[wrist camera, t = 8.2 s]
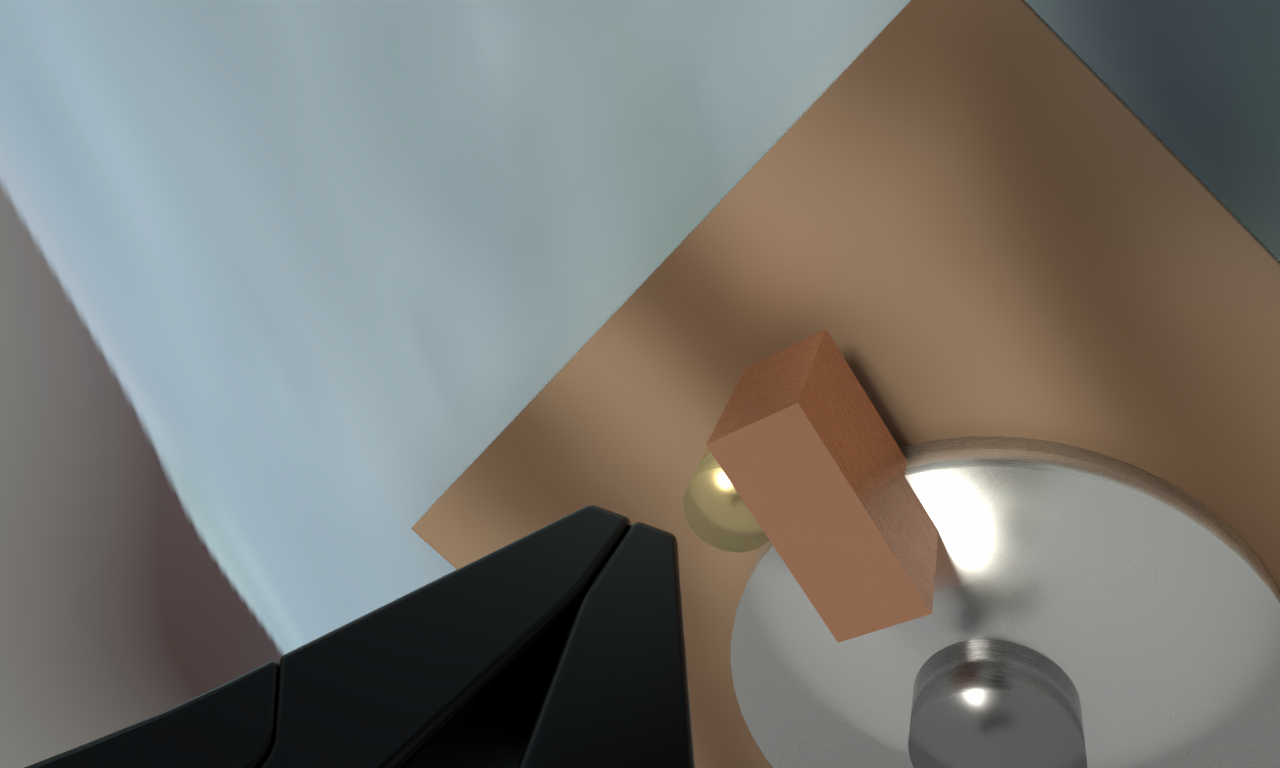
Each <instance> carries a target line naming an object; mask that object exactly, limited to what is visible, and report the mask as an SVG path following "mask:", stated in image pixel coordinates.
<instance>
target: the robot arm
mask: <svg viewBox="0 0 1280 768" xmlns="http://www.w3.org/2000/svg"><path fill="white" fill-rule="evenodd" d="M25 768H695V761H694V748H693V735H692V722H691V709H690V696H689V683H688V670H687V658H686V645H685V632H684V619H683V606H682V593H681V580H680V567H679V554H678V542H677V539H676V537H675V536H674V535H673V534H672V533H670V532H667V531H664V530H661V529H659V528H656V527H653V526H650V525H648V524H645V523H642V522H637V523H634V524H632V525H631V522H630V520H629V518H627V517H626V516H623V515H620V514H618V513H615V512H612V511H609V510H607V509H604V508H601V507H599V506H594V505H589V506H586V507H583V508H581V509H579V510H577V511H575V512H573V513H571V514H569V515H567V516H565V517H563V518H561V519H559V520H557V521H555V522H553V523H551V524H549V525H547V526H545V527H543V528H541V529H539V530H537V531H535V532H533V533H531V534H529V535H526V536H524V537H522V538H520V539H518V540H516V541H514V542H512V543H510V544H508V545H506V546H504V547H502V548H500V549H498V550H496V551H494V552H492V553H490V554H488V555H486V556H484V557H482V558H480V559H478V560H476V561H474V562H472V563H470V564H468V565H466V566H464V567H462V568H460V569H458V570H455V571H453V572H451V573H449V574H447V575H445V576H443V577H441V578H439V579H437V580H435V581H433V582H431V583H429V584H427V585H425V586H423V587H421V588H419V589H417V590H415V591H413V592H411V593H409V594H407V595H405V596H403V597H401V598H399V599H397V600H395V601H393V602H391V603H389V604H387V605H384V606H382V607H380V608H378V609H376V610H374V611H372V612H370V613H368V614H366V615H364V616H362V617H360V618H358V619H356V620H354V621H352V622H350V623H348V624H346V625H344V626H342V627H340V628H338V629H336V630H334V631H332V632H330V633H328V634H326V635H324V636H322V637H320V638H318V639H316V640H313V641H311V642H309V643H307V644H305V645H303V646H301V647H299V648H297V649H295V650H293V651H291V652H289V653H287V654H285V655H283V656H282V657H281V658H280V660H279V666H278V663H277V662H275V661H270V662H268V663H266V664H264V665H262V666H260V667H258V668H256V669H254V670H252V671H250V672H248V673H246V674H244V675H242V676H240V677H238V678H236V679H234V680H231V681H229V682H227V683H225V684H223V685H221V686H219V687H216V688H214V689H212V690H210V691H208V692H206V693H203V694H201V695H199V696H197V697H195V698H193V699H191V700H188V701H186V702H184V703H182V704H180V705H178V706H175V707H173V708H171V709H169V710H167V711H165V712H162V713H160V714H158V715H155V716H153V717H150V718H148V719H145V720H143V721H141V722H138V723H136V724H133V725H131V726H128V727H126V728H123V729H121V730H119V731H116V732H114V733H111V734H109V735H106V736H104V737H102V738H99V739H96V740H94V741H92V742H89V743H87V744H84V745H82V746H79V747H77V748H74V749H71V750H69V751H66V752H64V753H61V754H58V755H56V756H53V757H51V758H48V759H46V760H43V761H40V762H38V763H35V764H33V765H30V766H27V767H25Z"/></svg>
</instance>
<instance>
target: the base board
mask: <svg viewBox="0 0 1280 768" xmlns="http://www.w3.org/2000/svg"><path fill="white" fill-rule="evenodd" d="M824 329H827V331H828V333H829V334H830V336H831V337H832V339H833V341H834V342H835V344H836V346H837V347H838V349H839V350H840V352H841V354H842V355H843V357H844V359H845V360H846V362H847V363H848V365H849V367H850V368H851V370H852V372H853V373H854V375H855V376H856V378H857V380H858V381H859V383H860V385H861V386H862V388H863V389H864V391H865V393H866V394H867V396H868V398H869V399H870V401H871V402H872V404H873V406H874V407H875V409H876V411H877V412H878V414H879V415H880V417H881V419H882V420H883V422H884V424H885V425H886V427H887V428H888V430H889V432H890V433H891V435H892V437H893V438H894V440H895V441H896V443H897V445H898V446H899V448H900V447H904V446H909V445H914V444H918V443H923V442H928V441H933V440H939V439H950V438H960V437H971V436H996V437H1020V438H1028V439H1036V440H1044V441H1052V442H1058V443H1062V444H1067V445H1071V446H1075V447H1079V448H1083V449H1088V450H1092V451H1096V452H1099V453H1102V454H1105V455H1107V456H1110V457H1113V458H1116V459H1119V460H1121V461H1124V462H1127V463H1130V464H1133V465H1135V466H1137V467H1139V468H1141V469H1143V470H1145V471H1147V472H1149V473H1151V474H1154V475H1156V476H1158V477H1160V478H1162V479H1164V480H1166V481H1168V482H1170V483H1172V484H1173V485H1175V486H1176V487H1178V488H1179V489H1181V490H1182V491H1184V492H1186V493H1187V494H1189V495H1190V496H1192V497H1193V498H1195V499H1196V500H1198V501H1199V502H1201V503H1202V504H1204V505H1205V506H1206V507H1208V508H1209V509H1210V510H1211V511H1212V512H1213V513H1215V514H1216V515H1217V516H1218V517H1219V518H1221V519H1222V520H1223V521H1224V522H1225V523H1226V524H1228V525H1229V526H1230V527H1231V528H1232V529H1233V530H1234V531H1235V532H1236V533H1237V534H1238V535H1239V536H1240V537H1241V539H1242V540H1243V541H1244V542H1245V543H1246V544H1247V545H1248V547H1249V548H1250V549H1251V550H1252V551H1253V552H1254V553H1255V554H1256V556H1257V557H1258V558H1259V560H1260V561H1261V563H1262V564H1263V566H1264V568H1265V569H1266V571H1267V572H1268V574H1269V575H1270V577H1271V578H1272V580H1273V582H1274V583H1275V585H1276V586H1277V589H1278V591H1279V593H1280V261H1279V260H1278V259H1277V258H1276V257H1275V256H1274V255H1273V254H1272V253H1271V252H1270V251H1269V250H1268V249H1267V248H1266V247H1265V246H1264V245H1263V244H1262V243H1261V242H1260V241H1259V240H1258V239H1257V238H1256V237H1255V236H1254V235H1253V234H1252V233H1251V232H1250V231H1249V230H1248V229H1247V228H1246V227H1245V226H1244V225H1243V224H1242V223H1241V222H1240V221H1239V220H1238V219H1237V218H1236V217H1235V215H1234V214H1233V213H1232V212H1231V211H1230V210H1229V209H1228V208H1227V207H1226V206H1225V205H1224V204H1223V203H1222V202H1221V201H1220V200H1219V199H1218V198H1217V197H1216V196H1215V195H1214V194H1213V193H1212V192H1211V191H1210V190H1209V189H1208V188H1207V187H1206V186H1205V185H1204V184H1203V183H1202V182H1201V181H1200V180H1199V179H1198V178H1197V177H1196V176H1195V175H1194V174H1193V173H1192V172H1191V170H1190V169H1189V168H1188V167H1187V166H1186V165H1185V164H1184V163H1183V162H1182V161H1181V160H1180V159H1179V158H1178V157H1177V156H1176V155H1175V154H1174V153H1173V152H1172V151H1171V150H1170V149H1169V148H1168V147H1167V146H1166V145H1165V144H1164V143H1163V142H1162V141H1161V140H1160V139H1159V138H1158V137H1157V136H1156V135H1155V134H1154V133H1153V132H1152V131H1151V130H1150V129H1149V128H1148V127H1147V125H1146V124H1145V123H1144V122H1143V121H1142V120H1141V119H1140V118H1139V117H1138V116H1137V115H1136V114H1135V113H1134V112H1133V111H1132V110H1131V109H1130V108H1129V107H1128V106H1127V105H1126V104H1125V103H1124V102H1123V101H1122V100H1121V99H1120V98H1119V97H1118V96H1117V95H1116V94H1115V93H1114V92H1113V91H1112V90H1111V89H1110V88H1109V87H1108V86H1107V85H1106V84H1105V83H1104V82H1103V80H1102V79H1101V78H1100V77H1099V76H1098V75H1097V74H1096V73H1095V72H1094V71H1093V70H1092V69H1091V68H1090V67H1089V66H1088V65H1087V64H1086V63H1085V62H1084V61H1083V60H1082V59H1081V58H1080V57H1079V56H1078V55H1077V54H1076V53H1075V52H1074V51H1073V50H1072V49H1071V48H1070V47H1069V46H1068V45H1067V44H1066V43H1065V42H1064V41H1063V40H1062V39H1061V38H1060V37H1059V35H1058V34H1057V33H1056V32H1055V31H1054V30H1053V29H1052V28H1051V27H1050V26H1049V25H1048V24H1047V23H1046V22H1045V21H1044V20H1043V19H1042V18H1041V17H1040V16H1039V15H1038V14H1037V13H1036V12H1035V11H1034V10H1033V9H1032V8H1031V7H1030V6H1029V5H1028V4H1027V3H1026V2H1025V1H1024V0H911V1H910V2H909V3H908V4H907V5H906V6H905V7H904V8H903V9H902V10H901V12H900V13H899V14H898V15H897V16H896V17H895V18H894V19H893V20H892V21H891V22H890V23H889V24H888V25H887V26H886V27H885V28H884V29H883V31H882V32H881V33H880V34H879V35H878V36H877V37H876V38H875V39H874V40H873V41H872V42H871V43H870V44H869V45H868V46H867V47H866V48H865V50H864V51H863V52H862V53H861V54H860V55H859V56H858V57H857V58H856V59H855V60H854V61H853V62H852V63H851V64H850V65H849V66H848V67H847V69H846V70H845V71H844V72H843V73H842V74H841V75H840V76H839V77H838V78H837V79H836V80H835V81H834V82H833V83H832V84H831V85H830V86H829V87H828V89H827V90H826V91H825V92H824V93H823V94H822V95H821V96H820V97H819V98H818V99H817V100H816V101H815V102H814V103H813V104H812V105H811V106H810V108H809V109H808V110H807V111H806V112H805V113H804V114H803V115H802V116H801V117H800V118H799V119H798V120H797V121H796V122H795V123H794V124H793V125H792V127H791V128H790V129H789V130H788V131H787V132H786V133H785V134H784V135H783V136H782V137H781V138H780V139H779V140H778V141H777V142H776V143H775V144H774V146H773V147H772V148H771V149H770V150H769V151H768V152H767V153H766V154H765V155H764V156H763V157H762V158H761V159H760V160H759V161H758V162H757V163H756V164H755V166H754V167H753V168H752V169H751V170H750V171H749V172H748V173H747V174H746V175H745V176H744V177H743V178H742V179H741V180H740V181H739V182H738V183H737V185H736V186H735V187H734V188H733V189H732V190H731V191H730V192H729V193H728V194H727V195H726V196H725V197H724V198H723V199H722V200H721V201H720V202H719V204H718V205H717V206H716V207H715V208H714V209H713V210H712V211H711V212H710V213H709V214H708V215H707V216H706V217H705V218H704V219H703V220H702V221H701V223H700V224H699V225H698V226H697V227H696V228H695V229H694V230H693V231H692V232H691V233H690V234H689V235H688V236H687V237H686V238H685V239H684V240H683V242H682V243H681V244H680V245H679V246H678V247H677V248H676V249H675V250H674V251H673V252H672V253H671V254H670V255H669V256H668V257H667V258H666V259H665V260H664V262H663V263H662V264H661V265H660V266H659V267H658V268H657V269H656V270H655V271H654V272H653V273H652V274H651V275H650V276H649V277H648V278H647V279H646V281H645V282H644V283H643V284H642V285H641V286H640V287H639V288H638V289H637V290H636V291H635V292H634V293H633V294H632V295H631V296H630V297H629V298H628V300H627V301H626V302H625V303H624V304H623V305H622V306H621V307H620V308H619V309H618V310H617V311H616V312H615V313H614V314H613V315H612V316H611V317H610V319H609V320H608V321H607V322H606V323H605V324H604V325H603V326H602V327H601V328H600V329H599V330H598V331H597V332H596V333H595V334H594V335H593V336H592V338H591V339H590V340H589V341H588V342H587V343H586V344H585V345H584V346H583V347H582V348H581V349H580V350H579V351H578V352H577V353H576V354H575V355H574V356H573V358H572V359H571V360H570V361H569V362H568V363H567V364H566V365H565V366H564V367H563V368H562V369H561V370H560V371H559V372H558V373H557V374H556V375H555V377H554V378H553V379H552V380H551V381H550V382H549V383H548V384H547V385H546V386H545V387H544V388H543V389H542V390H541V391H540V392H539V393H538V394H537V396H536V397H535V398H534V399H533V400H532V401H531V402H530V403H529V404H528V405H527V406H526V407H525V408H524V409H523V410H522V411H521V412H520V413H519V415H518V416H517V417H516V418H515V419H514V420H513V421H512V422H511V423H510V424H509V425H508V426H507V427H506V428H505V429H504V430H503V431H502V432H501V434H500V435H499V436H498V437H497V438H496V439H495V440H494V441H493V442H492V443H491V444H490V445H489V446H488V447H487V448H486V449H485V450H484V451H483V452H482V454H481V455H480V456H479V457H478V458H477V459H476V460H475V461H474V462H473V463H472V464H471V465H470V466H469V467H468V468H467V469H466V470H465V471H464V473H463V474H462V475H461V476H460V477H459V478H458V479H457V480H456V481H455V482H454V483H453V484H452V485H451V486H450V487H449V488H448V489H447V490H446V492H445V493H444V494H443V495H442V496H441V497H440V498H439V499H438V500H437V501H436V502H435V503H434V504H433V505H432V506H431V507H430V508H429V510H428V511H427V512H426V513H425V514H424V515H423V516H422V517H421V518H420V519H419V520H418V522H417V523H416V524H415V525H414V526H413V527H412V528H411V529H412V530H413V531H414V532H415V533H417V534H418V535H419V536H420V537H421V538H422V539H423V540H424V541H426V542H427V543H428V544H429V545H430V546H431V547H432V548H433V549H434V550H436V551H437V552H438V553H439V554H440V555H441V556H442V557H443V558H444V559H446V560H447V561H448V562H449V563H450V564H451V565H452V566H453V567H455V568H456V569H457V570H458V569H460V568H462V567H464V566H466V565H468V564H470V563H472V562H474V561H476V560H478V559H480V558H482V557H484V556H486V555H488V554H490V553H492V552H494V551H496V550H498V549H500V548H502V547H504V546H506V545H508V544H510V543H512V542H514V541H516V540H518V539H520V538H522V537H524V536H526V535H529V534H531V533H533V532H535V531H537V530H539V529H541V528H543V527H545V526H547V525H549V524H551V523H553V522H555V521H557V520H559V519H561V518H563V517H565V516H567V515H569V514H571V513H573V512H575V511H577V510H579V509H581V508H583V507H586V506H589V505H594V506H599V507H601V508H604V509H607V510H609V511H612V512H615V513H618V514H620V515H623V516H626V517H627V518H629V520H630V522H631V525H632V524H634V523H637V522H642V523H645V524H648V525H650V526H653V527H656V528H659V529H661V530H664V531H667V532H670V533H672V534H673V535H674V536H675V537H676V539H677V542H678V554H679V567H680V580H681V593H682V606H683V619H684V632H685V645H686V658H687V670H688V683H689V696H690V709H691V722H692V735H693V748H694V761H695V768H773V767H772V766H771V764H770V763H769V762H768V761H767V759H766V758H765V756H764V754H763V753H762V751H761V750H760V748H759V746H758V745H757V743H756V742H755V740H754V738H753V737H752V735H751V732H750V730H749V728H748V726H747V724H746V722H745V719H744V717H743V715H742V713H741V710H740V706H739V703H738V699H737V696H736V693H735V689H734V684H733V677H732V669H731V635H732V630H733V625H734V620H735V615H736V611H737V608H738V605H739V602H740V600H741V597H742V594H743V591H744V588H745V585H746V583H747V580H748V577H749V574H750V572H751V569H752V567H753V564H754V561H755V559H756V556H757V554H758V552H759V550H760V549H761V547H762V546H761V547H759V548H757V549H755V550H752V551H747V552H729V551H724V550H721V549H718V548H715V547H713V546H711V545H709V544H708V543H706V542H705V541H703V540H702V539H701V538H700V537H698V536H697V535H696V534H695V533H694V531H693V530H692V529H691V527H690V526H689V524H688V522H687V520H686V518H685V515H684V510H683V498H684V494H685V491H686V489H687V487H688V485H689V483H690V481H691V479H692V477H693V475H694V473H695V471H696V470H697V468H698V466H699V464H700V462H701V460H702V458H703V456H704V454H705V452H706V450H707V448H708V447H707V446H706V443H707V441H708V439H709V438H710V436H711V434H712V432H713V430H714V428H715V426H716V424H717V422H718V420H719V418H720V416H721V414H722V412H723V411H724V409H725V407H726V405H727V403H728V401H729V399H730V397H731V395H732V393H733V391H734V389H735V387H736V385H737V384H738V382H739V380H740V378H741V376H742V374H743V372H744V370H745V368H747V367H749V366H751V365H753V364H755V363H757V362H759V361H761V360H763V359H765V358H767V357H769V356H771V355H773V354H775V353H777V352H779V351H781V350H783V349H785V348H788V347H790V346H792V345H794V344H796V343H798V342H800V341H802V340H804V339H806V338H808V337H810V336H812V335H814V334H816V333H818V332H820V331H822V330H824Z"/></svg>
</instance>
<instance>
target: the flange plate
mask: <svg viewBox="0 0 1280 768" xmlns="http://www.w3.org/2000/svg"><path fill="white" fill-rule="evenodd" d="M706 446H707V447H708V449H709V450H710V452H711V453H712V455H713V456H714V458H715V459H716V461H717V462H718V464H719V465H720V467H721V468H722V470H723V471H724V473H725V474H726V476H727V477H728V479H729V480H730V482H731V483H732V485H733V486H734V488H735V489H736V491H737V492H738V494H739V495H740V497H741V498H742V500H743V501H744V503H745V504H746V506H747V507H748V509H749V510H750V512H751V513H752V515H753V516H754V518H755V519H756V521H757V522H758V524H759V525H760V527H761V528H762V530H763V531H764V533H765V534H766V536H767V537H768V539H769V541H768V542H767V543H766V544H764V545H763V546H762V547H761V549H760V550H759V552H758V554H757V556H756V559H755V561H754V564H753V567H752V569H751V572H750V574H749V577H748V580H747V583H746V585H745V588H744V591H743V594H742V597H741V600H740V602H739V605H738V608H737V611H736V615H735V620H734V625H733V630H732V635H731V669H732V677H733V684H734V689H735V693H736V696H737V699H738V703H739V706H740V710H741V713H742V715H743V717H744V719H745V722H746V724H747V726H748V728H749V730H750V732H751V735H752V737H753V738H754V740H755V742H756V743H757V745H758V746H759V748H760V750H761V751H762V753H763V754H764V756H765V758H766V759H767V761H768V762H769V763H770V764H771V766H772V767H773V768H1280V593H1279V591H1278V589H1277V586H1276V585H1275V583H1274V582H1273V580H1272V578H1271V577H1270V575H1269V574H1268V572H1267V571H1266V569H1265V568H1264V566H1263V564H1262V563H1261V561H1260V560H1259V558H1258V557H1257V556H1256V554H1255V553H1254V552H1253V551H1252V550H1251V549H1250V548H1249V547H1248V545H1247V544H1246V543H1245V542H1244V541H1243V540H1242V539H1241V537H1240V536H1239V535H1238V534H1237V533H1236V532H1235V531H1234V530H1233V529H1232V528H1231V527H1230V526H1229V525H1228V524H1226V523H1225V522H1224V521H1223V520H1222V519H1221V518H1219V517H1218V516H1217V515H1216V514H1215V513H1213V512H1212V511H1211V510H1210V509H1209V508H1208V507H1206V506H1205V505H1204V504H1202V503H1201V502H1199V501H1198V500H1196V499H1195V498H1193V497H1192V496H1190V495H1189V494H1187V493H1186V492H1184V491H1182V490H1181V489H1179V488H1178V487H1176V486H1175V485H1173V484H1172V483H1170V482H1168V481H1166V480H1164V479H1162V478H1160V477H1158V476H1156V475H1154V474H1151V473H1149V472H1147V471H1145V470H1143V469H1141V468H1139V467H1137V466H1135V465H1133V464H1130V463H1127V462H1124V461H1121V460H1119V459H1116V458H1113V457H1110V456H1107V455H1105V454H1102V453H1099V452H1096V451H1092V450H1088V449H1083V448H1079V447H1075V446H1071V445H1067V444H1062V443H1058V442H1052V441H1044V440H1036V439H1028V438H1020V437H996V436H971V437H960V438H950V439H939V440H933V441H928V442H923V443H918V444H914V445H909V446H904V447H900V448H899V446H898V445H897V443H896V441H895V440H894V438H893V437H892V435H891V433H890V432H889V430H888V428H887V427H886V425H885V424H884V422H883V420H882V419H881V417H880V415H879V414H878V412H877V411H876V409H875V407H874V406H873V404H872V402H871V401H870V399H869V398H868V396H867V394H866V393H865V391H864V389H863V388H862V386H861V385H860V383H859V381H858V380H857V378H856V376H855V375H854V373H853V372H852V370H851V368H850V367H849V365H848V363H847V362H846V360H845V359H844V357H843V355H842V354H841V352H840V350H839V349H838V347H837V346H836V344H835V342H834V341H833V339H832V337H831V336H830V334H829V333H828V331H827V329H824V330H822V331H820V332H818V333H816V334H814V335H812V336H810V337H808V338H806V339H804V340H802V341H800V342H798V343H796V344H794V345H792V346H790V347H788V348H785V349H783V350H781V351H779V352H777V353H775V354H773V355H771V356H769V357H767V358H765V359H763V360H761V361H759V362H757V363H755V364H753V365H751V366H749V367H747V368H745V370H744V372H743V374H742V376H741V378H740V380H739V382H738V384H737V385H736V387H735V389H734V391H733V393H732V395H731V397H730V399H729V401H728V403H727V405H726V407H725V409H724V411H723V412H722V414H721V416H720V418H719V420H718V422H717V424H716V426H715V428H714V430H713V432H712V434H711V436H710V438H709V439H708V441H707V443H706Z"/></svg>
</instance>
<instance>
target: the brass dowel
mask: <svg viewBox="0 0 1280 768" xmlns="http://www.w3.org/2000/svg"><path fill="white" fill-rule="evenodd" d="M683 510H684V515H685V518H686V520H687V522H688V524H689V526H690V527H691V529H692V530H693V531H694V533H695V534H696V535H697V536H698V537H700V538H701V539H702V540H703V541H705V542H706V543H708V544H709V545H711V546H713V547H715V548H718V549H721V550H724V551H729V552H747V551H752V550H755V549H757V548H759V547H761V546H763V545H764V544H766V543H767V542H768V541H769V539H768V537H767V536H766V534H765V533H764V531H763V530H762V528H761V527H760V525H759V524H758V522H757V521H756V519H755V518H754V516H753V515H752V513H751V512H750V510H749V509H748V507H747V506H746V504H745V503H744V501H743V500H742V498H741V497H740V495H739V494H738V492H737V491H736V489H735V488H734V486H733V485H732V483H731V482H730V480H729V479H728V477H727V476H726V474H725V473H724V471H723V470H722V468H721V467H720V465H719V464H718V462H717V461H716V459H715V458H714V456H713V455H712V453H711V452H710V450H709V449H708V448H707V450H706V452H705V454H704V456H703V458H702V460H701V462H700V464H699V466H698V468H697V470H696V471H695V473H694V475H693V477H692V479H691V481H690V483H689V485H688V487H687V489H686V491H685V494H684V498H683Z"/></svg>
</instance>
